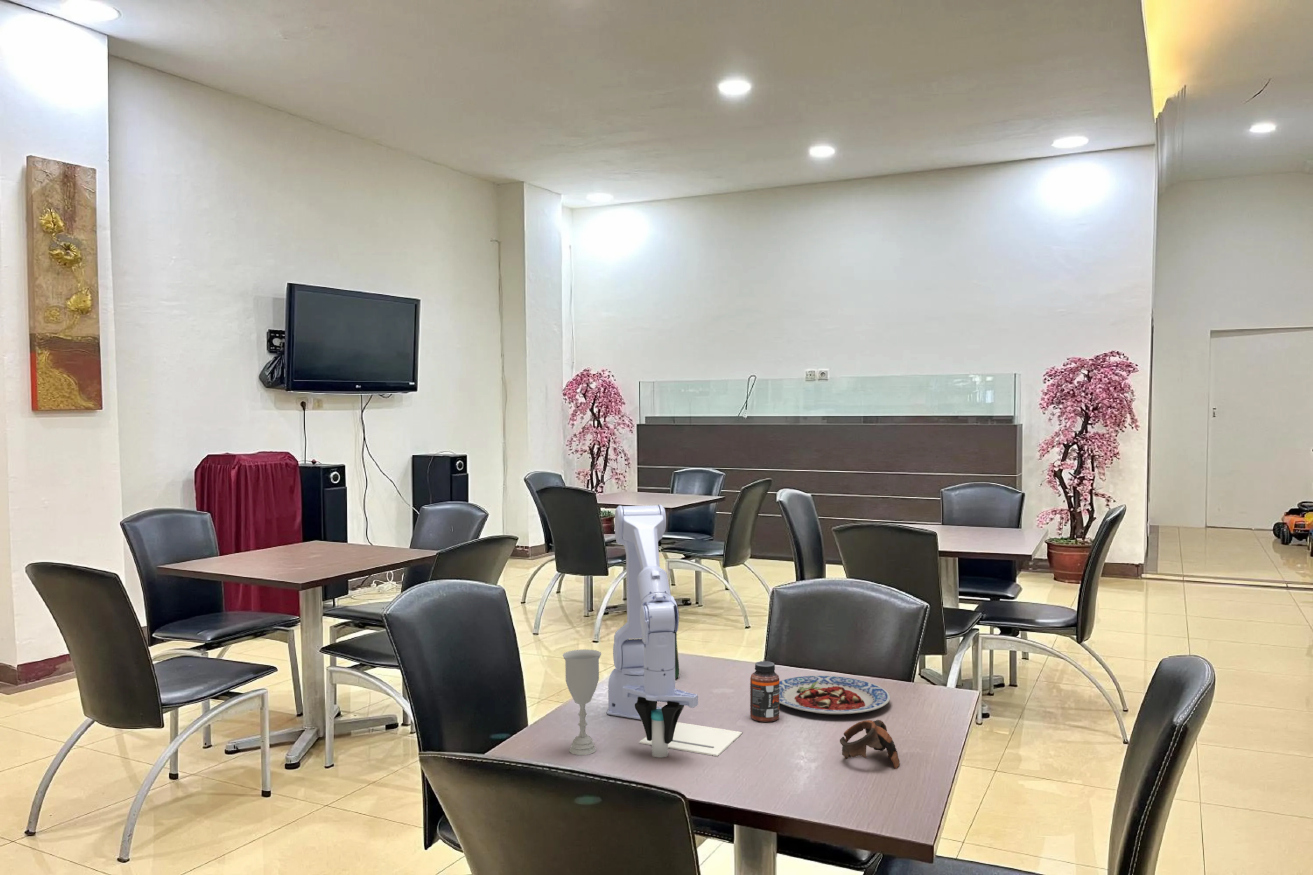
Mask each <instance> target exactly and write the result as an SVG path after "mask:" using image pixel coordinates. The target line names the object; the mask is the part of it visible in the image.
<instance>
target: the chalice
mask: <svg viewBox="0 0 1313 875" xmlns="http://www.w3.org/2000/svg"><path fill="white" fill-rule="evenodd" d="M601 656H602V651H599V650H597V649H596V650H594V649H586V648H585V649H574V650H569V651H565V652H564V653H562V657H563V659H564V661H565V665H564V666H565V682H566V686H567V689H568V691H569V693H570V695H571V697H572V700H573V701H574V703H576V704H578V705H579V712H578V714H577V715H578V716H579V722H578V724H577V726H578V727H579V734H578V735H577V736H576V737H574V738H573V739H572V743H571V745H570V748H569V753H571V754H573V755H577V756H586V755H587V756H588V755H591V754H594V753H595V752H597V748H596V746H595V743H594V741H593V740H594V739H593V738H592V737H591V736H589V735H588V733H586V728H587V725H588V722H587V721H586V717H587V715H588V713H587V711H586V704H589V703H590V702H591V700H592V698H593V697H594V694H595V692H596V690H597V686H598V684H599V681H600V661H599V660H600V658H601Z"/></svg>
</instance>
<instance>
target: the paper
mask: <svg viewBox="0 0 1313 875" xmlns="http://www.w3.org/2000/svg"><path fill="white" fill-rule="evenodd" d="M741 734H742V735H743V732H742V731H737V730H732V729H724V728H719V727H711V726H704V725H698V724H692V723H685V722H680V721H677V724H676V727H675V731H674V736H673V741H671V742H670V743H669V744H668V749H671V750H678V751H683V752H689V753H696V754H701V755H707V756H712V755H713V756H712V757H719V756H720V755H721V754H722V753H723V752H724V751H725V750H727V748H728V746H729V747H730V746H731V745H732V744H733V743H734V742H735V741H736V740H737V739H738V738H740V737H741V736H742V735H741ZM733 741H734V742H733ZM638 742H639V744H643V745H646V746H647V745H648V746H652V740H651V741H648V740H647V737H646V736H645V737H644V738H642V739H641V740H640V741H638ZM718 755H719V756H718Z"/></svg>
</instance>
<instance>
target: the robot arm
mask: <svg viewBox="0 0 1313 875" xmlns="http://www.w3.org/2000/svg"><path fill="white" fill-rule="evenodd" d="M666 527H667V514H666V508H665V507H664V506H663V505H662V504H658V505H656V504H655V505H618V506H617V507H616V508H615V510H614V538H615V540H616V541H615V542H616V544H620V545H622V546H623V548H624V552H625V564H626V565H625V568H626V570H625V572H626V574H625V576H626V621H627V622H625V623H624V624H623V626H621V627H620V628H618V629H617V630H616V632H615V633H614V635H613V646H612V654H613V655H612V658H613V666H614V669H613V670H612V671H611V672H610V673H609V674H610V675H609V677H608V683H607V686H608V688H607V689H608V690H607V691H608V699H607V700H608V711H606V714H607V715H609V716H616V717H622V718H628V719H635V720H640V721H641V722H642V724H643V725H642V726H643V728H644V731H645V732H644V733H645V737H647V740H648V741H651V740H652V719H651V711H652V710H654V709H661V710H662V714H663V719H664V741H665V743H666V744H669V743H670V742H671V741H673V736H674V731H675V727H676V724H677V722H679V718H680V715H681V714H682V711H683V709H684V708H685V706H688V707H689V708H692V709H693V708H696V707H698V705H699V695H698V693H697V694H696V693H691V692H688V691H685V690H681V689H678V688H676V678H675V633H674V631H675V632H677V633H678V631H679V622H680V616H679V615H680V613H679V614H678V610H679V607H678V608H677V604H678V603H677V604H676V601H677V600H676V599H675V597H674V596H673V595H671V594H672V593H671V589H670V583H669V578H668V573H667V571H666V570H665V569H664V568H662V567H660V566H661V565H660V564H661V563H660V551H659V541H660V540H662V539H663V535H664V533H665V532H666V529H667V528H666ZM674 599H675V600H676V601H675V600H674ZM658 702H660V703H666V704H665V705H663V706H658Z"/></svg>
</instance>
